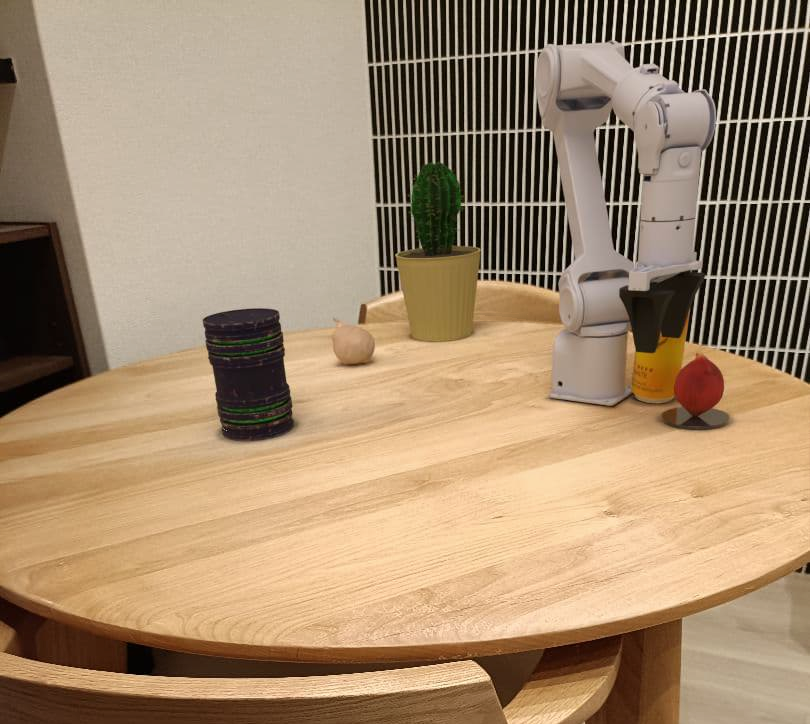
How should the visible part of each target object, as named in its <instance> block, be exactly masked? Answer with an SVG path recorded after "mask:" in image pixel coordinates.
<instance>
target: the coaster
mask: <svg viewBox="0 0 810 724" xmlns="http://www.w3.org/2000/svg"><path fill="white" fill-rule="evenodd" d="M661 421H662V422H663V423H664V424H666V425H668V426H670V427H672V428H677V429H683V430H693V431H695V430H696V431H705V430H715V429H719V428H723V427H725V426H727V425H729V423H730V421H731V416H730V415H729V414H728V413H727V412H725V411H723V410H721V409H717V408H714V407H713V408H711V409H710V410H708V411H706V412H705V413H703V414H701V415H699V416H697V417H695V416H692V415H690V414H689V412H688V411H687V410H686V409H685V408H684V407H683V406H679V407H673V408H670V409H667V410H665V411H663V412H662V414H661Z"/></svg>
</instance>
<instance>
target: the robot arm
mask: <svg viewBox="0 0 810 724" xmlns="http://www.w3.org/2000/svg"><path fill="white" fill-rule="evenodd" d="M659 70H660V67H659V66H658V65H656V64H655V63H646V64H644V63H643V64H641V66H637V67H634V66H633V65H631V63H630V62H629V61H628V60H627V59H626V56H625V47H624V45H623V44H621V43H619V42H618V41H616V40H608V41H606V42H592V43H591V42H590V43H575V44H560V45H559V44H558V45H555V44H553V43H548V44H546V45H545V46H544V47H543V48H542V50H541V52H540V53H539V56H538V58H537V62H536V69H535V80H534V87H535V95H536V99H537V104H538V111H539V116H540V118H541V124H542V126H543V127H544V128H545V129H547V130H548V131H550V132H551V133H553V139H554V145H555V151H556V157H557V162H558V169H559V173H560V174H559V175H560V179H561V185H562V191H563V197H564V203H565V208H566V214H567V221H568V225H569V230H570V236H571V243H572V247H573V252H574V253H573V254H574V260H573V262H571V263H570V264H569V266H568V267H566V268H565V270H563V272H562V274H561V275H560V277H559V280H558V296H559V298H558V313H559V317H560V320H561V323H562V325H563V326H564V327H565V328H562V329H561V330H560V331H558V333H557V335H556V337H555V339H554V342H553V347H552V353H551V354H552V359H551V360H552V361H551V363H552V364H551V392H550V393H549V394H548V395H549V398H551V399H556V400H565V401H566V400H567V401H572V402H578V403H579V402H580V403H587V404H593V405H600V406H601V405H602V406H608V407H613V406H615V405H616V404H618V403H620V402H621V401H623V400H624V399H625V398H628V397H629V396H630V395H632V394H634V393H633V392H632V390H631V386H627V385H626V378H627V377H626V375H627V374H626V373H627V356H628V338H629V337H628V336H629V332H631V334H632V338H633V344H634V348H635V349H634V350H636V352H642V353H655V352H656V349H657V346H658V343H659V338H660V332H661V334H662V337H668V338H680V337H681V335H682V332H683V329H684V326H685V323H686V320H687V316H688V313H689V310H690V311H691V307H692V304H693V302H694V299H695V297H696V295H697V293H698V291H699V289H700V287H701V286H702V284H704V281H705V278H706V274H705V273H704V272H699V271H697V270H700V269H702V268H703V260H697V257H698V256H697V254H698V253H697V251H694V243H695V242H694V241H695V240H694V239H695V230H696V229H695V228H696V218H697V205H698V195H699V194H698V193H699V183H700V170H701V159H702V158H701V157H702V152H703V151H705V150H706V149H707V148H708V147H709V145H710V143H711V142H712V140H713V137H714V133H715V131H716V123H717V110H716V109H717V108H716V105H715V101H714V99H713V98H712V96H711V95H710V94H709V93H708V91H707V90H706V89H697V90H693V91H692V92H685V91H684V90H683V89H681V88H680V87H679V84H678V82H677V81H675V80H674V79H673V80H669V79H667V78H666V77H664V76H663V75H662V74H660V72H659ZM612 110H613V112H614V115H615V116H616V117H617V119H618V120H620V121H621V122H622V123H623V124H624V125H626V127H628V128H629V129H630V130H631V131H632V132H633V133H634V142H635V147H636V150H637V155H638V159H637V160H638V161H637V162H638V163H637V168H638V173H639V174H640V175H642V184H641V203H640V222H639V235H638V236H639V237H638V253H637V254H638V256H637V261H636V262H635V263H634V262H633V261H632V260H631V259H629V258H627V257H625V256H624V255H622V254H621V253H620V252H617V250H615V249H614V243H613V237H612V231H611V226H610V225H611V224H610V219H609V214H608V209H607V203H606V198H605V191H604V186H603V180H602V176H601V175H602V174H601V168H600V163H599V158H598V152H597V146H596V140H595V136H594V134H595V130H596V129H598V128H599V127H600V126H602V125H603V124H605V123H606V122H607V121H608V120H609V118H610V115H611V112H612ZM696 271H697V272H696ZM689 314H690V313H689Z"/></svg>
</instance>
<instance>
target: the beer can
mask: <svg viewBox="0 0 810 724" xmlns="http://www.w3.org/2000/svg"><path fill="white" fill-rule="evenodd" d="M690 312H691V309H690V310H689V313H688V316H687V320H686V323H685V326H684V329H683V332H682V335H681V337H680V338H668V337H662V334H661V332H660V338H659V343H658V346H657V349H656V352H655V353H642V352H636V349H634V351H635V352H634V360H633V369H632V376H631V377H632V379H631V386H630V387H631V390H632V392H633V393H632V394H634V397H635V399H636V400H639V401H641V402H643V403H648V404H664V403H669V402H671V401H672V400H673V399H674V397H675V395H674V383H675V379H676V377H677V375H678V373H679V372H680V370H681V369H682V368H683V361H684V355H685V347H686V340H687V333H688V328H689V320H690Z"/></svg>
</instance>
